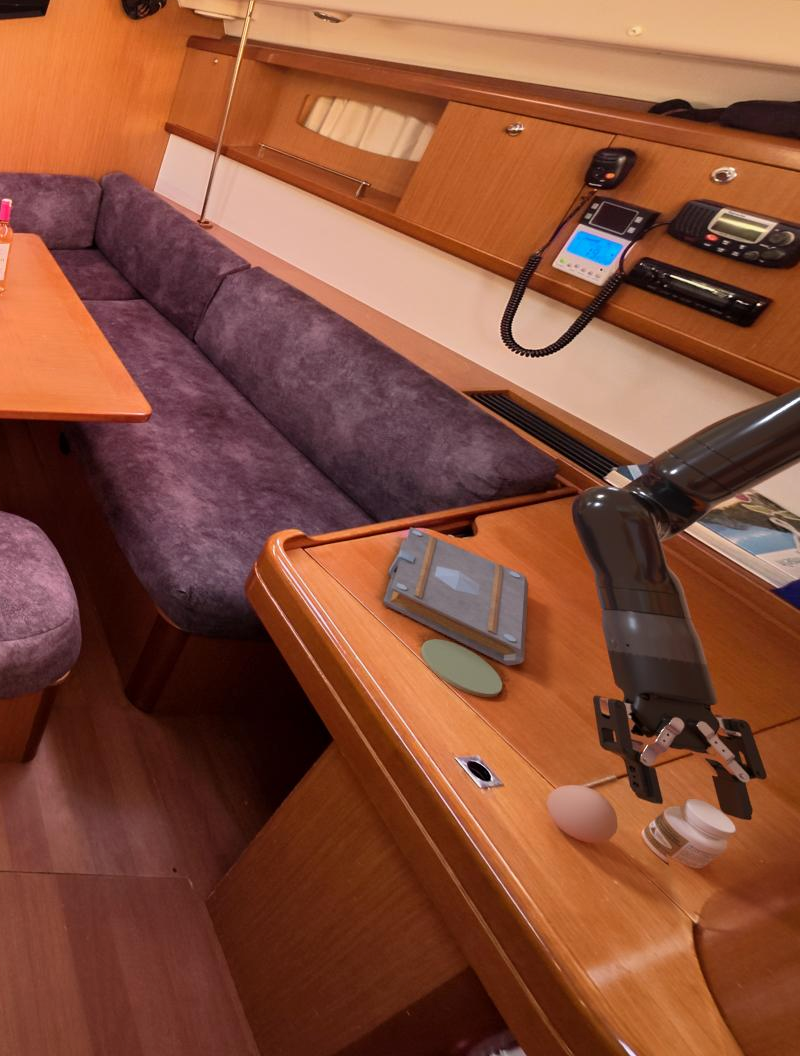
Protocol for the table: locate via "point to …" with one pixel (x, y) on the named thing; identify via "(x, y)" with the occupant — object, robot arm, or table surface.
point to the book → (460, 596)
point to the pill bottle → (689, 833)
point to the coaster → (461, 668)
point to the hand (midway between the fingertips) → (693, 809)
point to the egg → (582, 813)
